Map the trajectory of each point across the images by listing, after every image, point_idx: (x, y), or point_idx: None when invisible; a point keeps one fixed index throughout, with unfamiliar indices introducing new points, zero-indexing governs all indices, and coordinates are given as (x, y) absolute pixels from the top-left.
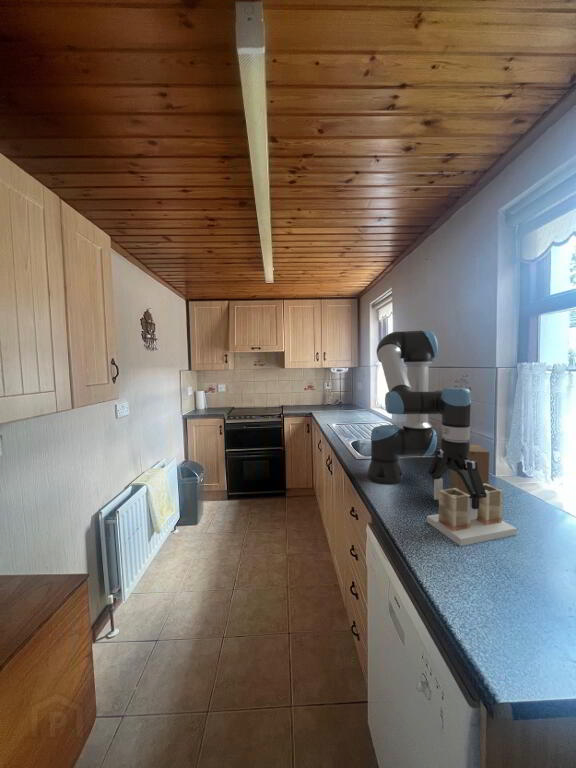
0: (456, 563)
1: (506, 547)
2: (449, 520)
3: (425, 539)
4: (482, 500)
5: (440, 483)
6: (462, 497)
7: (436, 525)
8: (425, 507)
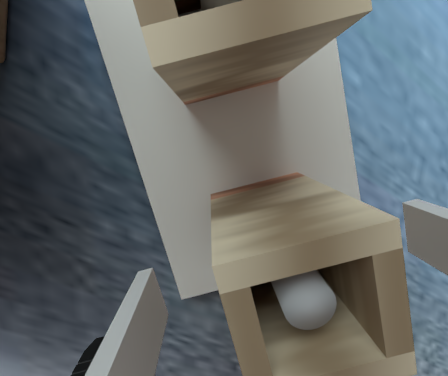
0: (432, 295)
1: (384, 79)
2: None
3: None
4: (286, 55)
5: (125, 372)
6: (404, 296)
7: None
8: (49, 240)
